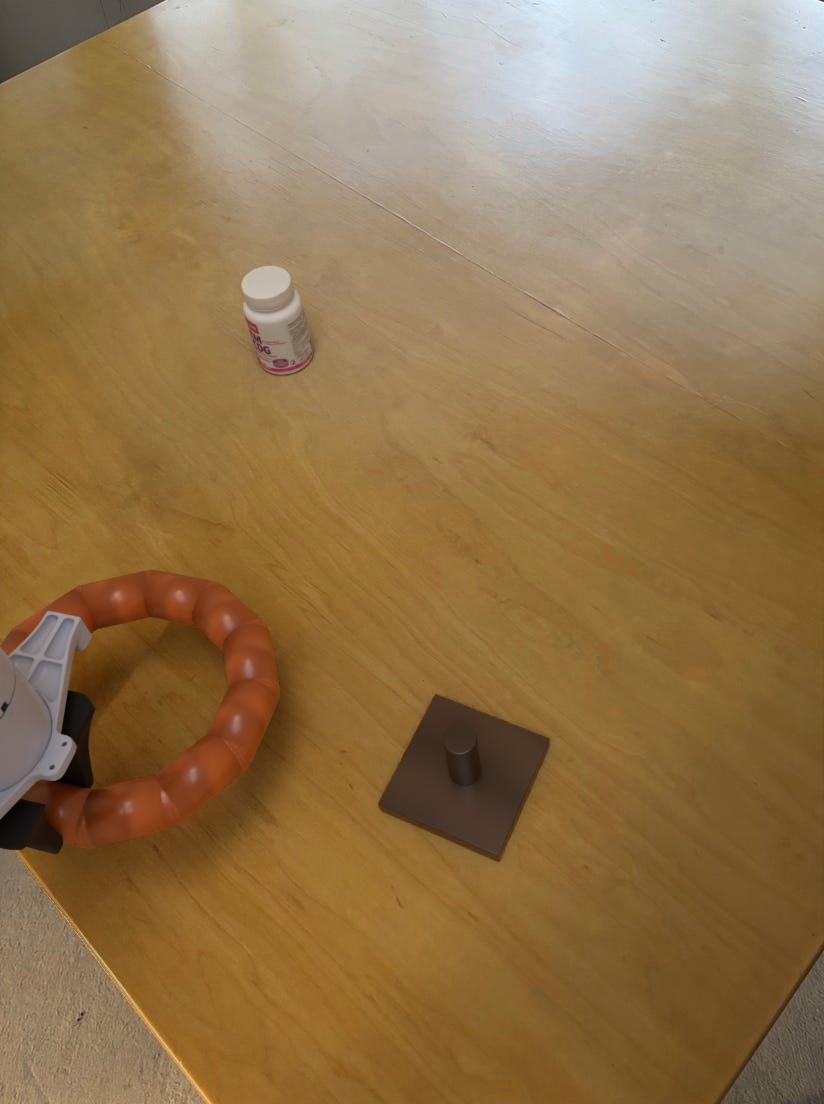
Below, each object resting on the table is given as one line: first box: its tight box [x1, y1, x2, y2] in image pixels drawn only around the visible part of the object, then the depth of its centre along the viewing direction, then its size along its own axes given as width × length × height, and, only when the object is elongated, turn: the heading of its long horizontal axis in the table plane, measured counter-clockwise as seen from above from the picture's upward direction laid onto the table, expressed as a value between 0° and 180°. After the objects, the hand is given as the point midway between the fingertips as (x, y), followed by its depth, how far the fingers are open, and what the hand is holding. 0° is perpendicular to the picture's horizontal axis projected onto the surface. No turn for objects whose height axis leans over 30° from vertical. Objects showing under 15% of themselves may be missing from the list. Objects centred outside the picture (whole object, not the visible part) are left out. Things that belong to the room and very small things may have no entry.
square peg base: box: [377, 693, 551, 862], centre depth 65 cm, size 8×8×6 cm
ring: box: [0, 569, 281, 850], centre depth 64 cm, size 18×18×3 cm
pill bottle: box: [240, 265, 314, 376], centre depth 88 cm, size 5×5×8 cm
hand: (60, 813), depth 59 cm, fingers closed on ring, 3 cm apart
